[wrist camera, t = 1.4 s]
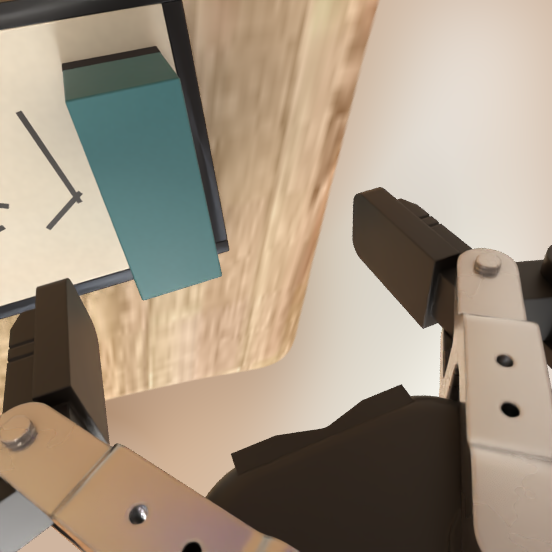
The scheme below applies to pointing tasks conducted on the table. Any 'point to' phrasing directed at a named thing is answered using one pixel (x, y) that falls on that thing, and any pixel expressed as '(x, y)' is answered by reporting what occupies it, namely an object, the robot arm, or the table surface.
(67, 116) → the whiteboard
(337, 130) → the table surface
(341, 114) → the table surface
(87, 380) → the robot arm
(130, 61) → the eraser
